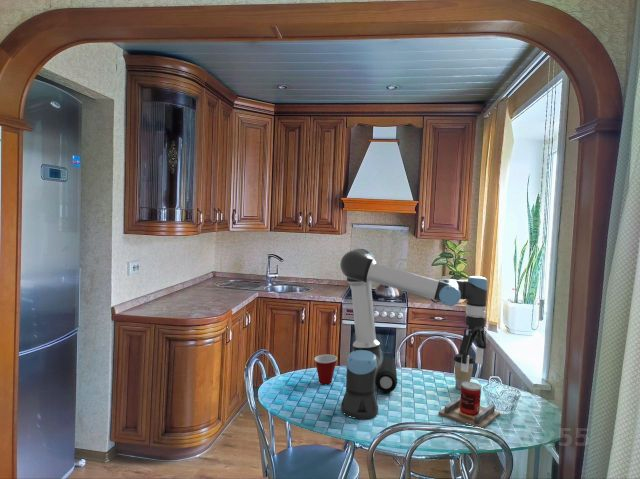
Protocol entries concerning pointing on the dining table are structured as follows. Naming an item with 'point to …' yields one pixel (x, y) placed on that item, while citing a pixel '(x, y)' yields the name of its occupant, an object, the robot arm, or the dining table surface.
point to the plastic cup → (325, 367)
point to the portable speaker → (386, 376)
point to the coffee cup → (461, 375)
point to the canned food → (470, 398)
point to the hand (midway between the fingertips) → (471, 367)
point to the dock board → (477, 420)
